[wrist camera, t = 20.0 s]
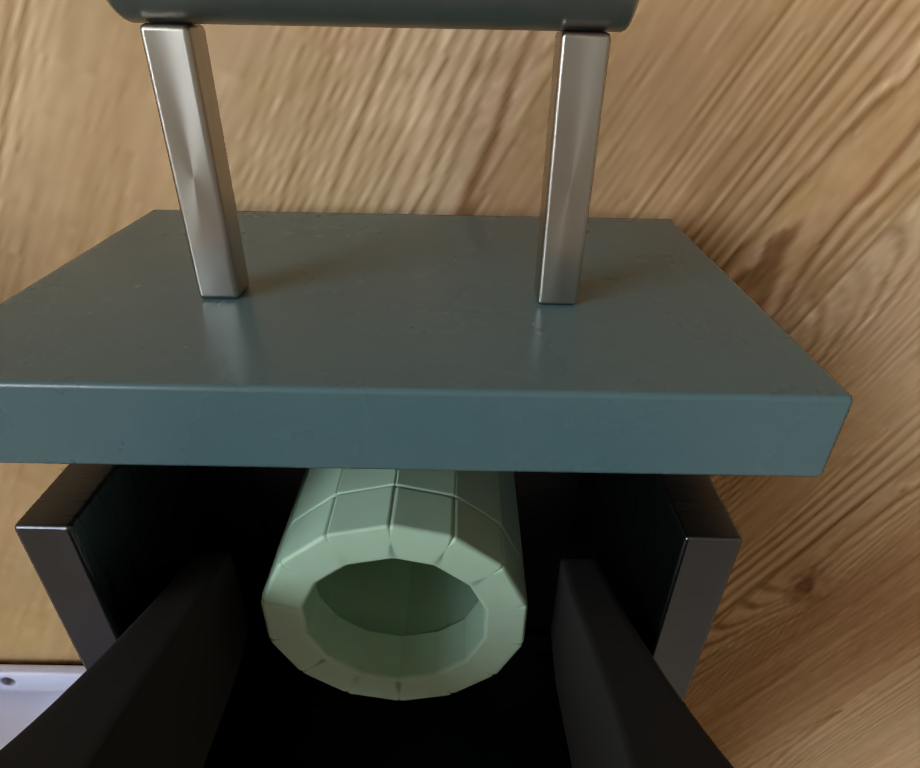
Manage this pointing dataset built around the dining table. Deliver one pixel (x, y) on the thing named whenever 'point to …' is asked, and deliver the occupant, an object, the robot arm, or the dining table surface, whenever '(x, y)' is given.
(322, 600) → the jar
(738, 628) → the dining table surface
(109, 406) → the drawer
